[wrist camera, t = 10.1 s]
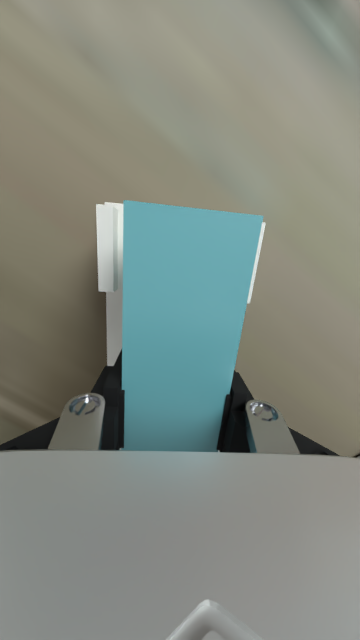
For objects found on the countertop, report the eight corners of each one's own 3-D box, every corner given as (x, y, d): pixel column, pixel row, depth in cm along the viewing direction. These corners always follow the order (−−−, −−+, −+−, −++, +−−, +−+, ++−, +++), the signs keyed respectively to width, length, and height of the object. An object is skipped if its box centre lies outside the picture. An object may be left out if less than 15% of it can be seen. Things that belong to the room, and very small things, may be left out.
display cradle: (245, 220, 16) (290, 202, 10) (212, 415, 21) (229, 476, 15) (108, 205, 15) (71, 175, 9) (110, 412, 20) (88, 475, 15)
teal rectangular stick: (224, 231, 10) (263, 215, 6) (191, 459, 15) (201, 543, 11) (142, 222, 10) (123, 199, 6) (134, 458, 14) (120, 544, 10)
